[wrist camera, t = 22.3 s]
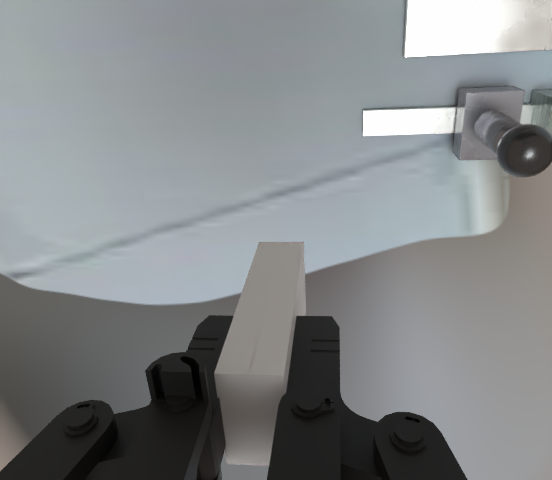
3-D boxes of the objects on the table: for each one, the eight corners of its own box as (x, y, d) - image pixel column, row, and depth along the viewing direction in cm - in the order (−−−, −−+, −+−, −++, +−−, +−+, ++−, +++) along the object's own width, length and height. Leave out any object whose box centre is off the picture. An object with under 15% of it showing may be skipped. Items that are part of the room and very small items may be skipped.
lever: (458, 88, 37) (504, 115, 27) (513, 86, 36) (581, 112, 26) (452, 152, 39) (492, 199, 29) (504, 150, 38) (563, 198, 28)
